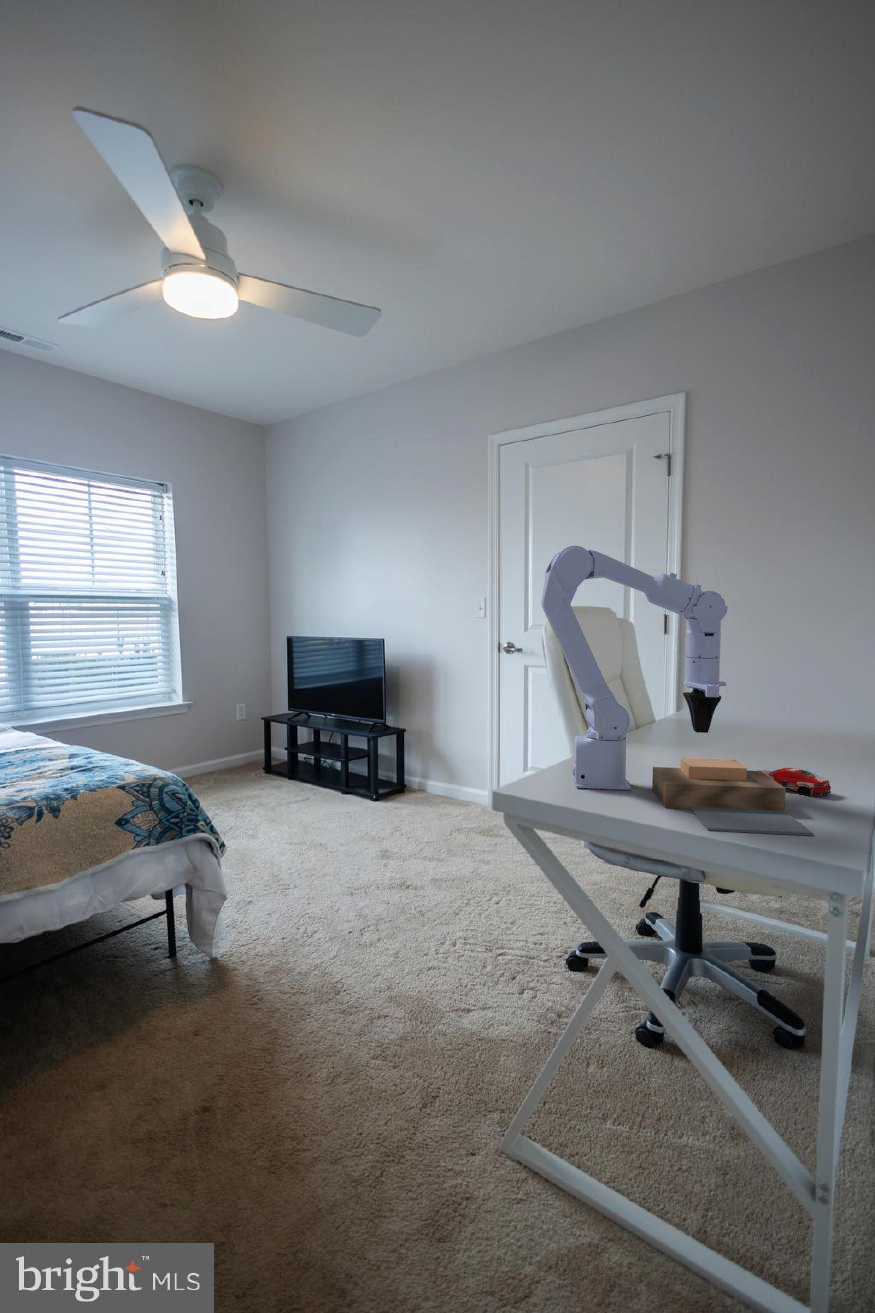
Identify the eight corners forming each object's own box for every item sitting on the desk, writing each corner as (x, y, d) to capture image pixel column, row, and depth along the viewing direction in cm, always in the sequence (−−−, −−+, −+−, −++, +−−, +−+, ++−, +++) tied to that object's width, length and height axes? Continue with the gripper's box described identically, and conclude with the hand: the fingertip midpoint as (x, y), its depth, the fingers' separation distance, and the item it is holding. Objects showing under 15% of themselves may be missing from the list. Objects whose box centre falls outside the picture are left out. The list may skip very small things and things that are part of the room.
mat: (707, 830, 88) (707, 827, 88) (690, 809, 98) (690, 806, 98) (813, 835, 86) (813, 833, 86) (784, 813, 96) (784, 810, 96)
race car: (742, 785, 113) (742, 764, 113) (755, 780, 116) (755, 760, 116) (821, 801, 102) (822, 778, 102) (833, 795, 106) (834, 773, 106)
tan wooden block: (688, 778, 101) (688, 766, 101) (680, 769, 107) (680, 758, 107) (746, 780, 100) (746, 768, 100) (734, 771, 106) (735, 760, 106)
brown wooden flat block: (664, 807, 99) (665, 783, 98) (652, 789, 109) (652, 767, 109) (784, 813, 96) (785, 788, 95) (759, 793, 106) (760, 770, 106)
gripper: (739, 660, 103) (736, 740, 103) (714, 655, 117) (712, 725, 118) (694, 660, 104) (693, 738, 105) (676, 654, 118) (674, 724, 119)
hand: (700, 731), depth 111 cm, fingers closed
